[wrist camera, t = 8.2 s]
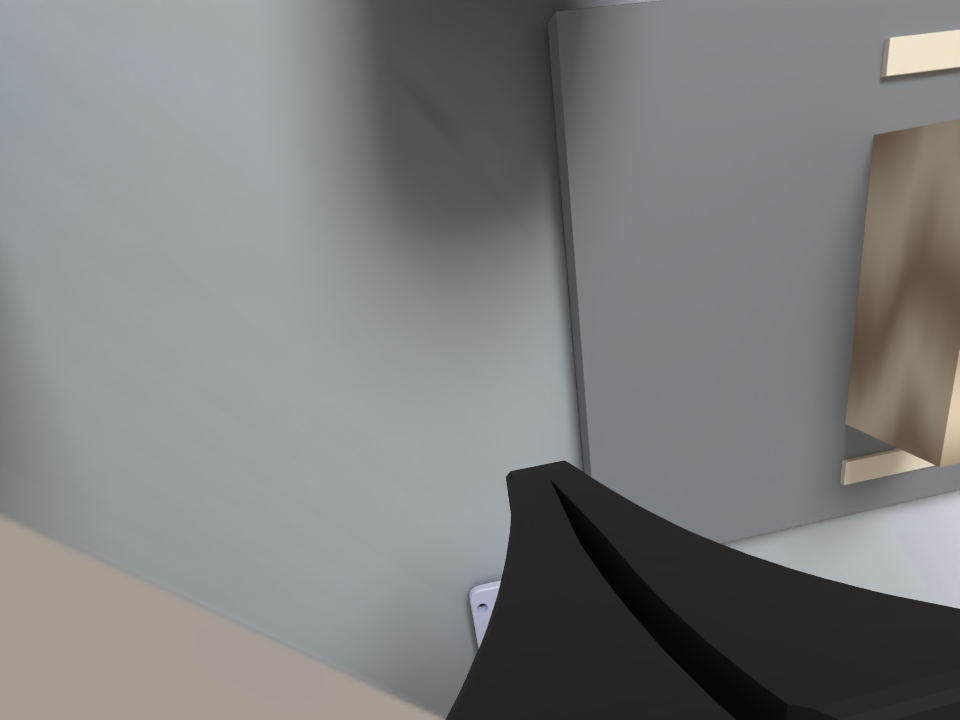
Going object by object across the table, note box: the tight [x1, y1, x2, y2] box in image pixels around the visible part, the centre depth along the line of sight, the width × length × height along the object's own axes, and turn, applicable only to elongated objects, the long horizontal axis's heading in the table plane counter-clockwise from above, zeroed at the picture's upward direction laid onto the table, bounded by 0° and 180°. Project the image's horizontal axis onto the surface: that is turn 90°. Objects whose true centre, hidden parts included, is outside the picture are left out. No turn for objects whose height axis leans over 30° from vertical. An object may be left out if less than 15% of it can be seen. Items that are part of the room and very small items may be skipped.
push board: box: [547, 0, 960, 544], centre depth 20 cm, size 22×27×1 cm
